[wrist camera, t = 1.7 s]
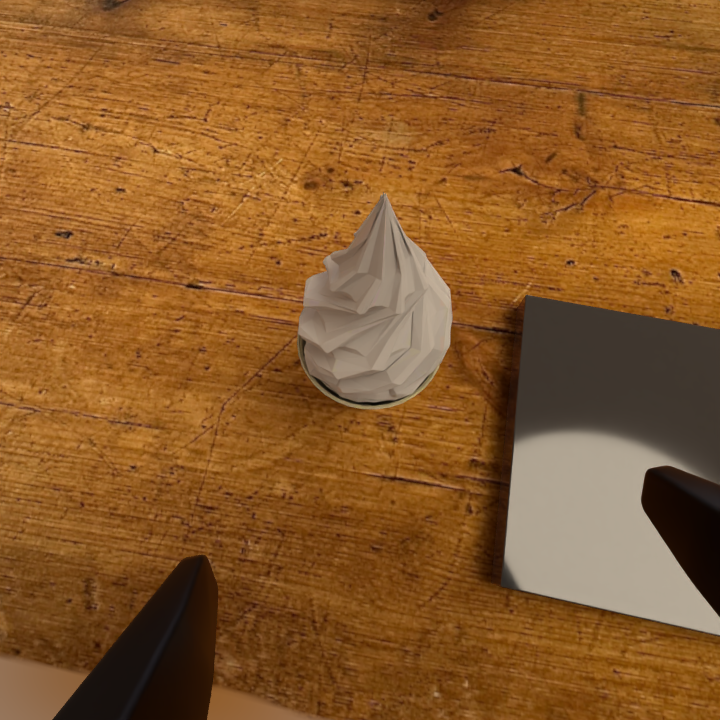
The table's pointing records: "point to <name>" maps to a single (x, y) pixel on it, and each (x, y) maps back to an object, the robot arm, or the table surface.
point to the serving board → (603, 457)
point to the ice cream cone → (375, 318)
